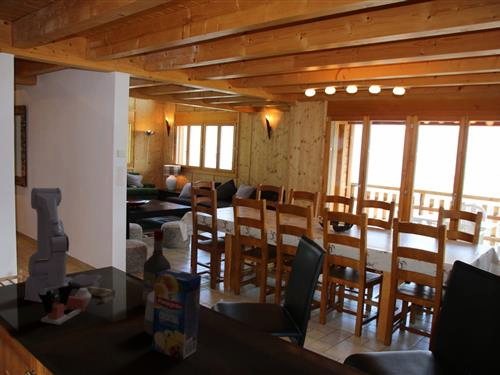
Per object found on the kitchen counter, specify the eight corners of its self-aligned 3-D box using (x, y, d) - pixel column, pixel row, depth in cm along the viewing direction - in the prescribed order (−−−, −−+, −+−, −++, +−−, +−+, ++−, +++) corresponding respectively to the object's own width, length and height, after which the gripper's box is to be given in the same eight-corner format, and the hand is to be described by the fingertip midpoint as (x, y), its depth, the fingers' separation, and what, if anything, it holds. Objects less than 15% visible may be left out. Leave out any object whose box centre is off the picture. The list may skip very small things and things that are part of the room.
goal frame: (77, 298, 170) (77, 291, 170) (88, 292, 177) (88, 285, 177) (105, 303, 167) (105, 295, 167) (114, 297, 174) (115, 290, 174)
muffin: (80, 309, 159) (81, 291, 159) (70, 305, 162) (70, 287, 162) (94, 305, 165) (95, 287, 164) (84, 301, 168) (84, 284, 167)
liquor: (156, 311, 162) (159, 234, 159) (138, 306, 167) (141, 230, 164) (171, 305, 170) (175, 230, 167) (154, 299, 174) (158, 227, 172)
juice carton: (197, 350, 134) (201, 275, 131) (182, 360, 127) (186, 281, 125) (167, 340, 139) (170, 268, 137) (151, 348, 133) (155, 273, 130)
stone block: (94, 293, 182) (104, 282, 192) (93, 283, 181) (103, 272, 190) (67, 292, 183) (79, 280, 193) (66, 282, 182) (78, 271, 191)
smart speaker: (138, 335, 142) (139, 294, 140) (154, 325, 150) (155, 286, 149) (162, 341, 138) (164, 299, 137) (177, 330, 147) (179, 291, 145)
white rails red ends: (39, 321, 147) (40, 306, 147) (66, 307, 160) (66, 293, 160) (59, 324, 145) (60, 309, 145) (85, 310, 159) (85, 296, 158)
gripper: (52, 277, 139) (51, 317, 141) (80, 266, 154) (79, 303, 155) (34, 274, 141) (33, 314, 142) (63, 264, 155) (62, 300, 156)
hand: (56, 308), depth 149 cm, fingers open, 7 cm apart
